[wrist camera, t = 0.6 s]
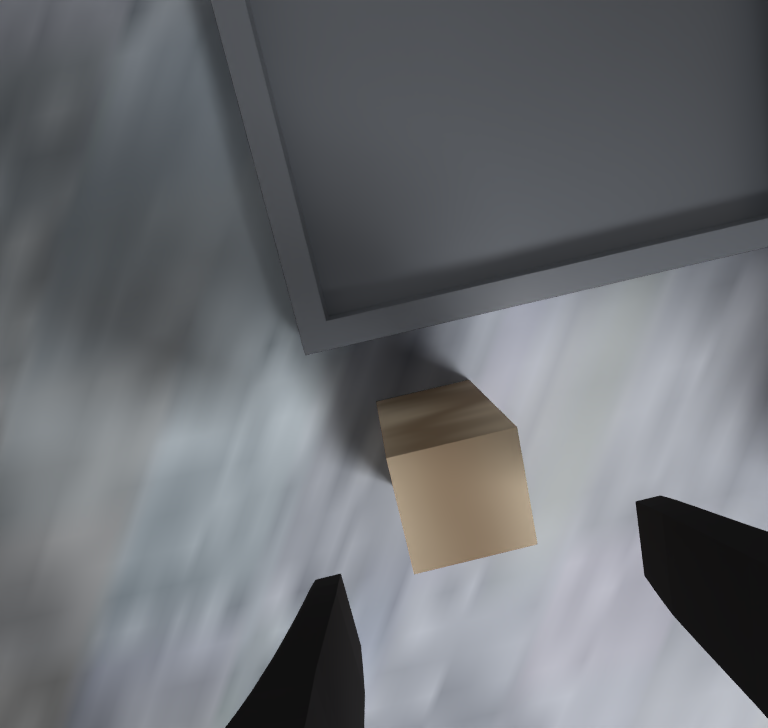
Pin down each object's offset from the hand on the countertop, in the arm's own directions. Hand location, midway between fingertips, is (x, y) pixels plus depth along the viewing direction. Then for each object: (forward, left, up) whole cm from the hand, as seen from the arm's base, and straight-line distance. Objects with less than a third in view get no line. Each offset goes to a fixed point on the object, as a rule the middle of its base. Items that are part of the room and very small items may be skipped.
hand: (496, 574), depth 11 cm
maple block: (0, 0, -10) cm, 10 cm away
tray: (-6, -13, -9) cm, 17 cm away
